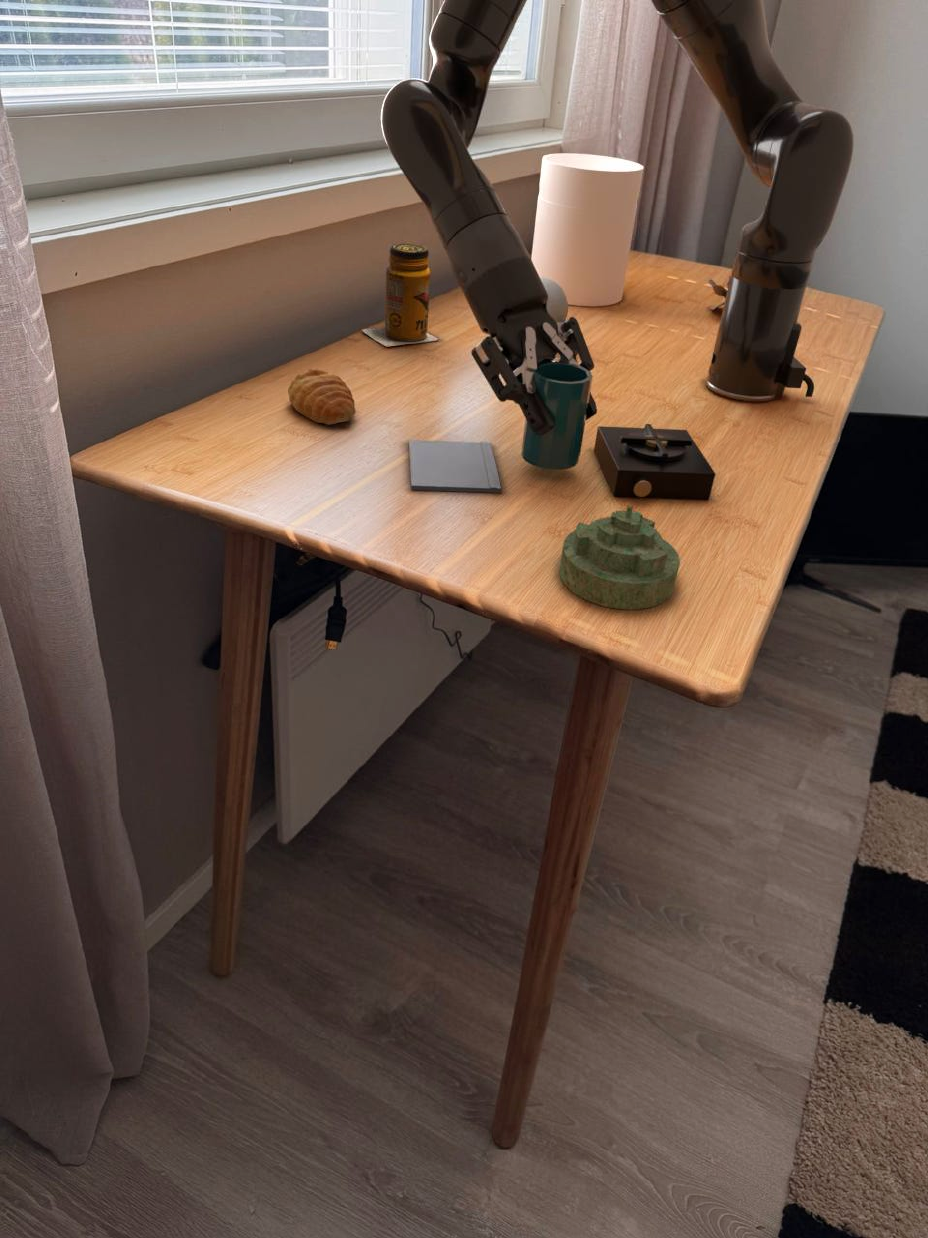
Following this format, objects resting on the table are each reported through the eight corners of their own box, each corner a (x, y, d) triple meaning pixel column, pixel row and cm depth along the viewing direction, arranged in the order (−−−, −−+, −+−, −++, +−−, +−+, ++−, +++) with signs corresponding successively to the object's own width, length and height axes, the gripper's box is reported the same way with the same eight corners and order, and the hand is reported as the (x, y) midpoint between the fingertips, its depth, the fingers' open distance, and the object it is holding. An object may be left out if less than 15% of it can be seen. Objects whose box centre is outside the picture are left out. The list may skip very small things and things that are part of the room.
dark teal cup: (573, 446, 100) (586, 363, 94) (583, 471, 95) (597, 384, 90) (518, 444, 99) (528, 360, 94) (525, 468, 94) (536, 381, 89)
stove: (680, 454, 104) (688, 419, 101) (711, 504, 94) (721, 467, 92) (593, 451, 103) (599, 415, 100) (615, 501, 93) (622, 463, 91)
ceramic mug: (491, 336, 133) (497, 281, 129) (521, 324, 139) (528, 271, 135) (554, 356, 129) (563, 300, 124) (583, 342, 135) (591, 289, 130)
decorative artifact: (563, 541, 85) (554, 599, 77) (574, 472, 81) (565, 525, 73) (672, 558, 84) (674, 618, 76) (689, 488, 80) (693, 544, 72)
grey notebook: (490, 447, 102) (491, 442, 101) (500, 493, 93) (501, 487, 92) (408, 443, 101) (408, 438, 100) (411, 490, 92) (411, 484, 91)
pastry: (370, 423, 104) (370, 390, 102) (315, 432, 101) (314, 399, 99) (335, 394, 111) (334, 363, 109) (282, 402, 108) (280, 370, 106)
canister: (628, 309, 150) (651, 174, 139) (530, 301, 150) (545, 166, 138) (616, 283, 163) (636, 158, 152) (526, 275, 163) (539, 149, 151)
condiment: (439, 340, 130) (444, 251, 123) (386, 347, 126) (388, 256, 119) (412, 325, 135) (416, 238, 128) (361, 331, 131) (361, 242, 124)
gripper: (465, 262, 86) (544, 424, 86) (566, 245, 95) (637, 393, 95) (424, 304, 92) (497, 456, 92) (522, 285, 101) (589, 424, 101)
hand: (568, 424), depth 93 cm, fingers closed on dark teal cup, 6 cm apart
